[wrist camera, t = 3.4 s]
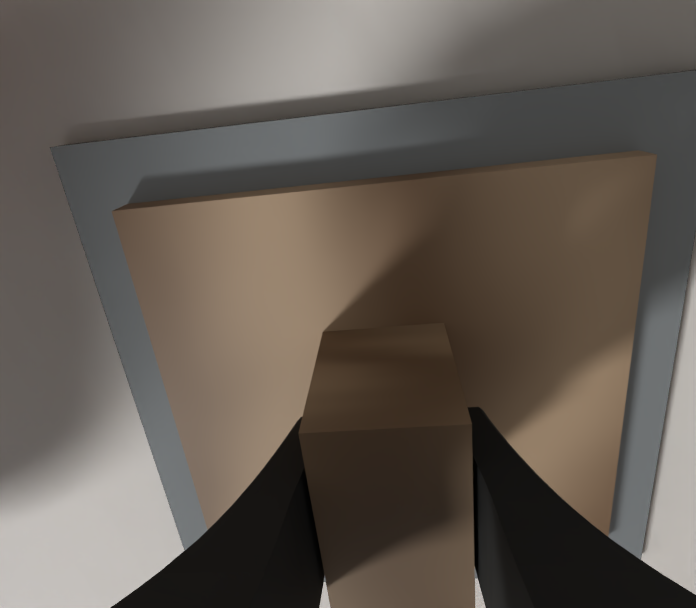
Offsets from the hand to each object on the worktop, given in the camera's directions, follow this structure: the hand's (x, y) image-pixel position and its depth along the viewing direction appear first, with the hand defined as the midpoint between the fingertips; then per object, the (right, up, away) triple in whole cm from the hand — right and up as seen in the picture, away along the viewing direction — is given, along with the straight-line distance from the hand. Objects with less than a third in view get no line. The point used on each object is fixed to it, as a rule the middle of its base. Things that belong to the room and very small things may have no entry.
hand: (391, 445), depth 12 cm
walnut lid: (0, +1, +2) cm, 2 cm away
